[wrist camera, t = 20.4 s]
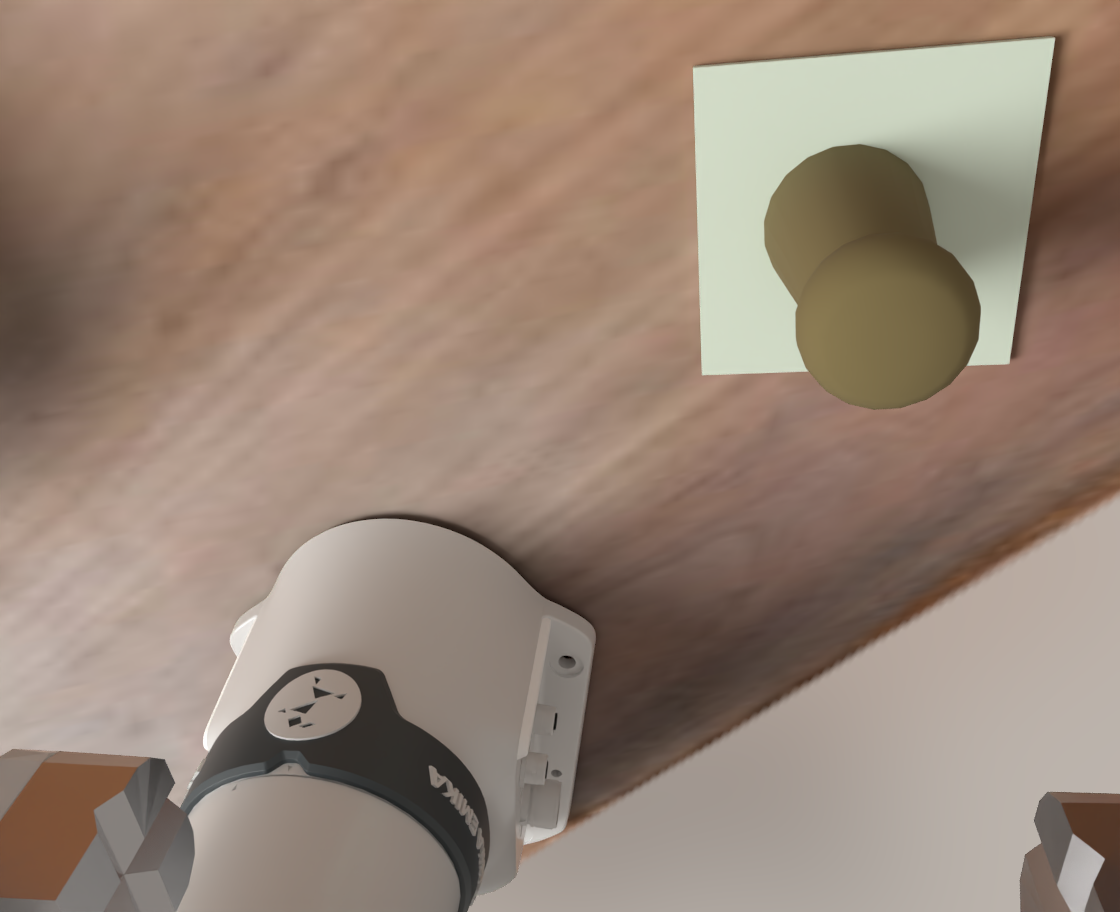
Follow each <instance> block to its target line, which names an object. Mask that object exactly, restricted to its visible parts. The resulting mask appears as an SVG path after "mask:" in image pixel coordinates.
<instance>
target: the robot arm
mask: <svg viewBox="0 0 1120 912" xmlns="http://www.w3.org/2000/svg"><path fill="white" fill-rule="evenodd" d="M595 642H596V634H595V630H594V628H593V627H592V625H591V624H590V623H589V622H588V621H587V620H585V619H584V618H582V617H581V616H579V615H578V614H576V613H574V612H572V611H570V610H568V609H566V608H564V607H562V606H560V605H558V604H556V603H554V602H552V601H550V600H547V599H545V598H544V597H543V596H541V595H540V594H539V593H538V592H537V591H535V590H534V589H533V588H532V587H531V586H530V585H529V584H528V583H527V582H526V581H525V580H524V579H523V578H522V576H521V575H520V574H519V573H518V572H517V571H516V570H515V569H514V568H512V567H511V566H510V565H509V564H508V563H507V562H506V561H504V560H503V559H502V558H501V557H499V556H498V555H496V554H495V553H494V552H492V551H491V550H489V549H488V548H486V547H484V546H483V545H481V544H479V543H478V542H476V541H474V540H472V539H470V538H468V537H466V536H463V535H461V534H459V533H456V532H454V531H451V530H448V529H445V528H442V527H439V526H435V525H432V524H428V523H423V522H418V521H411V520H402V519H370V520H362V521H356V522H351V523H347V524H343V525H340V526H337V527H334V528H332V529H329V530H327V531H325V532H323V533H321V534H319V535H317V536H315V537H314V538H312V539H310V540H309V541H308V542H306V543H305V544H304V545H302V546H301V547H300V548H299V549H298V550H297V551H296V552H295V553H294V554H293V555H292V556H291V557H290V558H289V560H288V561H287V562H286V564H285V565H284V567H283V569H282V570H281V572H280V574H279V576H278V579H277V581H276V583H275V585H274V587H273V589H272V591H271V592H270V594H269V595H268V597H267V598H266V599H265V600H263V601H262V602H260V603H259V604H257V605H256V606H254V607H253V608H251V609H250V610H248V611H247V612H246V613H244V614H243V615H242V616H241V617H240V618H239V619H238V620H237V622H236V624H235V626H234V629H233V631H232V633H231V636H230V644H231V647H232V649H233V651H234V653H235V654H236V656H237V659H236V661H235V664H234V666H233V668H232V670H231V672H230V675H229V677H228V679H227V681H226V684H225V686H224V688H223V690H222V693H221V695H220V697H219V700H218V702H217V704H216V706H215V709H214V711H213V713H212V716H211V718H210V720H209V722H208V725H207V727H206V730H205V733H204V738H203V745H204V748H205V749H206V750H208V755H207V757H206V758H205V759H203V760H202V761H201V763H200V765H199V767H198V768H197V770H196V771H195V773H194V775H193V777H192V779H191V781H190V783H189V785H188V788H187V789H188V791H187V793H186V795H185V798H184V801H183V803H182V805H181V807H180V808H179V807H178V806H176V805H175V804H174V803H173V802H171V801H170V800H169V799H168V798H167V797H168V795H169V793H170V791H171V790H172V788H173V786H174V784H175V781H174V779H173V777H172V775H171V773H170V770H169V768H168V766H167V764H166V762H165V759H158V758H151V757H137V756H122V755H108V754H93V753H78V752H64V751H59V752H58V751H41V750H23V749H12V750H11V751H9V752H7V753H5V754H4V755H2V756H0V912H467V911H468V908H469V906H471V905H472V904H473V902H474V900H475V898H476V896H480V895H484V894H487V893H491V892H494V891H496V890H498V889H500V888H502V887H504V886H505V885H507V884H508V883H510V882H511V881H512V880H513V879H514V878H515V877H516V875H517V872H518V869H519V864H520V859H521V854H522V849H523V845H525V844H530V843H533V842H537V841H541V840H544V839H546V838H549V837H551V836H554V835H556V834H558V833H560V832H562V831H563V830H564V829H565V827H566V824H567V820H568V816H569V813H570V808H571V802H572V796H573V789H574V783H575V776H576V769H577V763H578V756H579V749H580V742H581V736H582V729H583V722H584V716H585V709H586V702H587V696H588V689H589V682H590V676H591V669H592V662H593V656H594V649H595ZM563 656H571V657H572V659H567V658H564V657H563ZM1034 822H1035V825H1036V828H1037V831H1038V833H1039V836H1040V839H1041V842H1042V843H1041V844H1039V845H1038V846H1037V847H1035V848H1034V849H1032V850H1031V851H1029V852H1028V853H1027V854H1025V858H1024V863H1023V868H1022V872H1021V877H1020V905H1021V912H1120V794H1107V793H1071V792H1047V793H1046V794H1045V796H1044V797H1043V798H1042V799H1041V800H1040V801H1039V805H1038V808H1037V812H1036V816H1035V819H1034Z"/></svg>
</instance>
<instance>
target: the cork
mask: <svg viewBox="0 0 1120 912" xmlns="http://www.w3.org/2000/svg"><path fill="white" fill-rule="evenodd" d="M764 244H765V248H766V251H767V253H768V256H769V258H770V261H771V264H772V266H773V268H774V270H775V271H776V273H777V274H778V276H779V277H780V279H781V281H782V282H783V284H784V285H785V287H786V288H787V290H788V291H789V293H790V294H791V296H792V297H793V299H794V300H795V302H796V303H797V305H798V306H797V309H796V312H795V328H796V342H797V347H798V349H799V352H800V354H801V357H802V360H803V362H804V365H805V367H806V369H807V370H808V371H809V372H810V373H811V375H812V376H813V377H814V378H815V379H816V380H817V381H818V383H819V384H820V385H821V386H822V387H823V388H824V389H825V390H826V391H827V392H828V393H830V394H832V395H834V396H835V397H837V398H839V399H841V400H842V401H844V402H846V403H848V404H851V405H855V406H860V407H864V408H869V409H873V410H875V409H892V408H902V407H905V406H908V405H911V404H914V403H917V402H920V401H923V400H927V399H928V398H930V397H931V396H933V395H934V394H936V393H937V392H939V391H940V390H942V389H944V388H945V387H947V386H948V385H950V384H951V383H952V381H953V380H954V379H955V378H956V377H957V376H958V375H959V373H960V372H961V371H962V370H963V369H964V368H965V367H966V365H967V364H968V362H969V360H970V358H971V356H972V354H973V351H974V349H975V347H976V345H977V342H978V340H979V329H980V318H981V305H980V302H979V298H978V295H977V291H976V288H975V284H974V281H973V280H972V278H971V277H970V276H969V274H968V273H967V272H966V270H965V269H964V268H963V267H962V265H961V264H960V263H959V261H958V260H957V259H956V258H955V256H954V255H953V254H952V253H950V252H949V251H947V250H945V249H944V248H942V247H941V246H939V245H937V240H936V235H935V230H934V226H933V221H932V216H931V211H930V206H929V203H928V199H927V196H926V193H925V189H924V186H923V183H922V181H921V180H920V179H919V177H918V176H917V175H916V174H915V172H914V171H913V170H912V168H911V167H910V166H909V164H908V163H907V162H905V161H903V160H902V159H900V158H899V157H897V156H895V155H894V154H892V153H891V152H889V151H887V150H885V149H881V148H876V147H872V146H867V145H863V144H855V145H845V146H835V147H831V148H829V149H826V150H824V151H822V152H819V153H817V154H814V155H812V156H810V157H807V158H806V159H805V160H804V161H802V162H801V163H800V164H799V165H798V166H796V167H795V168H794V169H793V170H791V171H790V172H789V173H788V174H787V175H786V176H785V177H784V179H783V180H782V182H781V183H780V185H779V186H778V188H777V189H776V191H775V192H774V193H773V195H772V196H771V199H770V203H769V206H768V209H767V212H766V216H765V219H764Z"/></svg>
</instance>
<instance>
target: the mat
mask: <svg viewBox="0 0 1120 912" xmlns="http://www.w3.org/2000/svg"><path fill="white" fill-rule="evenodd" d="M1054 43H1055V37H1052V36H1046V37H1035V38H1023V39H1011V40H999V41H987V42H975V43H963V44H951V45H939V46H927V47H915V48H903V49H891V50H879V51H867V52H855V53H843V54H831V55H819V56H807V57H795V58H783V59H771V60H759V61H748V62H736V63H724V64H712V65H700V66H693V85H694V119H695V153H696V188H697V222H698V256H699V291H700V325H701V359H702V375H722V374H749V373H777V372H804V371H808V370H807V369H806V367H805V365H804V362H803V360H802V357H801V354H800V352H799V349H798V347H797V342H796V328H795V312H796V309H797V306H798V305H797V303H796V302H795V300H794V299H793V297H792V296H791V294H790V293H789V291H788V290H787V288H786V287H785V285H784V284H783V282H782V281H781V279H780V277H779V276H778V274H777V273H776V271H775V270H774V268H773V266H772V264H771V261H770V258H769V256H768V253H767V251H766V248H765V244H764V219H765V216H766V212H767V209H768V206H769V203H770V199H771V196H772V195H773V193H774V192H775V191H776V189H777V188H778V186H779V185H780V183H781V182H782V180H783V179H784V177H785V176H786V175H787V174H788V173H789V172H790V171H791V170H793V169H794V168H795V167H796V166H798V165H799V164H800V163H801V162H802V161H804V160H805V159H806V158H807V157H810V156H812V155H814V154H817V153H819V152H822V151H824V150H826V149H829V148H831V147H835V146H845V145H855V144H863V145H867V146H872V147H876V148H881V149H885V150H887V151H889V152H891V153H892V154H894V155H895V156H897V157H899V158H900V159H902V160H903V161H905V162H907V163H908V164H909V166H910V167H911V168H912V170H913V171H914V172H915V174H916V175H917V176H918V177H919V179H920V180H921V181H922V183H923V186H924V189H925V193H926V196H927V199H928V203H929V206H930V211H931V216H932V221H933V226H934V230H935V235H936V240H937V245H939V246H941V247H942V248H944V249H945V250H947V251H949V252H950V253H952V254H953V255H954V256H955V258H956V259H957V260H958V261H959V263H960V264H961V265H962V267H963V268H964V269H965V270H966V272H967V273H968V274H969V276H970V277H971V278H972V280H973V281H974V284H975V288H976V291H977V295H978V298H979V302H980V305H981V318H980V329H979V340H978V342H977V345H976V347H975V349H974V351H973V354H972V356H971V358H970V360H969V362H968V364H967V365H966V366H970V365H997V364H1009V362H1010V354H1011V347H1012V340H1013V333H1014V326H1015V319H1016V312H1017V305H1018V298H1019V291H1020V284H1021V277H1022V270H1023V262H1024V255H1025V248H1026V241H1027V234H1028V227H1029V220H1030V213H1031V206H1032V199H1033V192H1034V185H1035V177H1036V170H1037V163H1038V156H1039V149H1040V142H1041V135H1042V128H1043V121H1044V114H1045V107H1046V100H1047V92H1048V85H1049V78H1050V71H1051V64H1052V57H1053V50H1054Z"/></svg>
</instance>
